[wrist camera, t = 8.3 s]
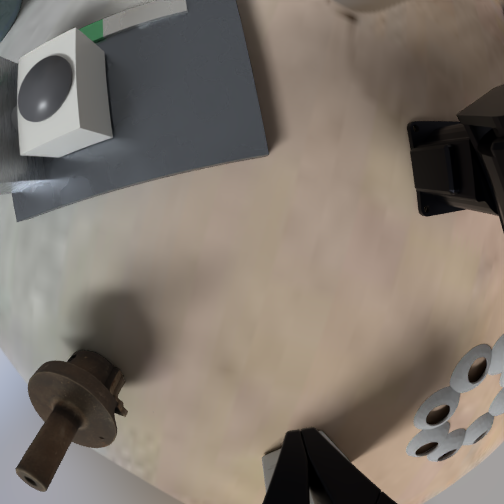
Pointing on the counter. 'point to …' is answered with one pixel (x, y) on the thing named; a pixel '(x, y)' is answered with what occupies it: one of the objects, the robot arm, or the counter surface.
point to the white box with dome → (62, 97)
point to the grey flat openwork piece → (498, 361)
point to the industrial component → (71, 412)
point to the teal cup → (8, 15)
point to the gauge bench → (147, 106)
